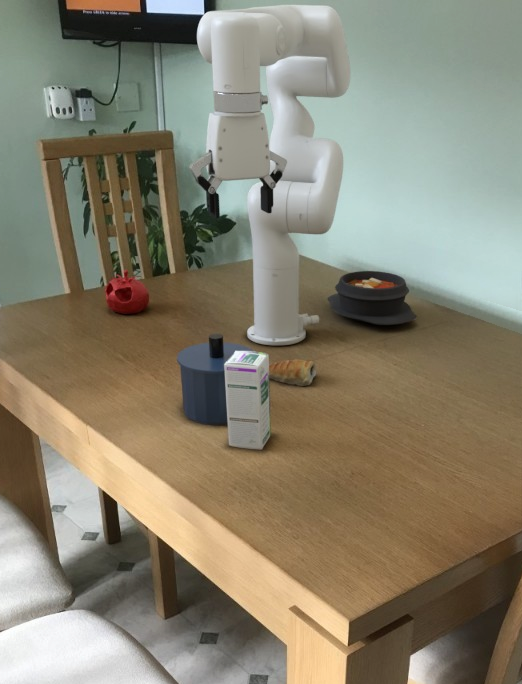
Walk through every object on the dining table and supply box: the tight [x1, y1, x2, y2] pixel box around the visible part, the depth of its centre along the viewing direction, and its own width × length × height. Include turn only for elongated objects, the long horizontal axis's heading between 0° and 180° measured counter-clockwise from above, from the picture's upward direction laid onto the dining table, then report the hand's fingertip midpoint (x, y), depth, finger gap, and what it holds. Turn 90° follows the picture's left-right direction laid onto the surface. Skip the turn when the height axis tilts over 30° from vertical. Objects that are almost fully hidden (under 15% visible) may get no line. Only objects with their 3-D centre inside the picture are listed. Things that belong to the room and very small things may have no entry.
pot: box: [179, 365, 228, 426], centre depth 141 cm, size 12×13×10 cm
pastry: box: [269, 358, 317, 387], centre depth 155 cm, size 9×7×4 cm
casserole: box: [327, 270, 417, 326], centre depth 187 cm, size 25×19×8 cm
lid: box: [176, 333, 254, 374], centre depth 138 cm, size 13×13×5 cm
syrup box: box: [224, 350, 272, 451], centre depth 130 cm, size 6×6×14 cm
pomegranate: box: [104, 269, 150, 315], centre depth 187 cm, size 10×10×9 cm
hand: (240, 214), depth 141 cm, fingers open, 9 cm apart
